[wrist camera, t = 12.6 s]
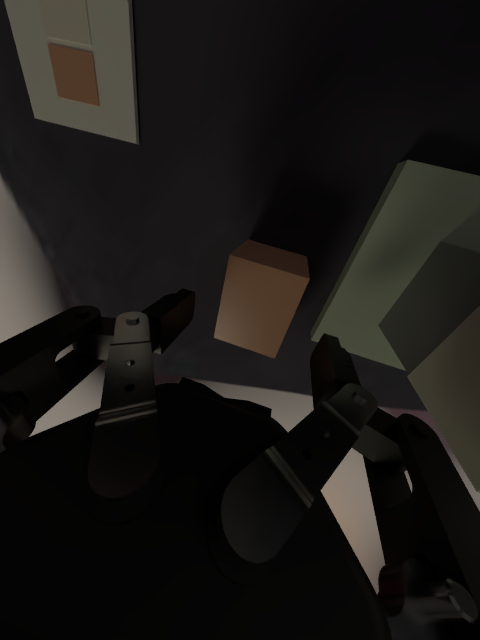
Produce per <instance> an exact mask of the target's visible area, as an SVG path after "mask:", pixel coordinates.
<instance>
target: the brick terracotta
mask: <svg viewBox="0 0 480 640" xmlns="http://www.w3.org/2000/svg"><path fill="white" fill-rule="evenodd" d="M309 280H310V277H309V269H308V261H307V256H303V255H300V254H296V253H293V252H290V251H286V250H283V249H279V248H276V247H273V246H269V245H266V244H262V243H259V242H256V241H252V240H249V239H248V240H247V241H246V242H245V243H243V244H242V245H241V246H240V247H239V248H237V249H236V250H235V251H234V252H232V253H231V254H230V256H229V261H228V266H227V271H226V277H225V282H224V287H223V292H222V298H221V303H220V308H219V314H218V319H217V324H216V329H215V335H214V338H217V339H220V340H223V341H226V342H228V343H231V344H234V345H237V346H240V347H243V348H246V349H249V350H252V351H255V352H257V353H260V354H263V355H266V356H269V357H272V358H275V356H276V354H277V352H278V349H279V347H280V345H281V343H282V340H283V338H284V336H285V334H286V331H287V329H288V327H289V325H290V322H291V320H292V318H293V316H294V313H295V311H296V309H297V307H298V304H299V302H300V300H301V298H302V295H303V293H304V291H305V289H306V286H307V284H308V282H309Z"/></svg>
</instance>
